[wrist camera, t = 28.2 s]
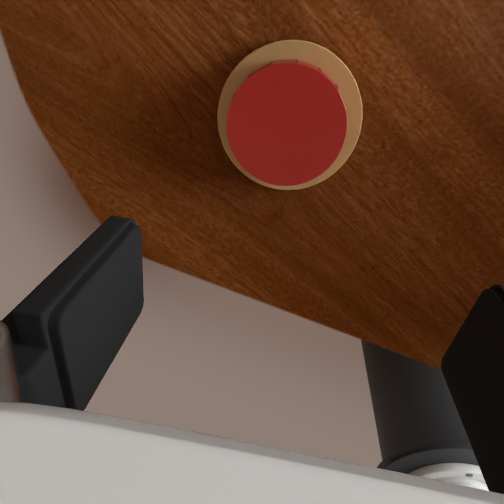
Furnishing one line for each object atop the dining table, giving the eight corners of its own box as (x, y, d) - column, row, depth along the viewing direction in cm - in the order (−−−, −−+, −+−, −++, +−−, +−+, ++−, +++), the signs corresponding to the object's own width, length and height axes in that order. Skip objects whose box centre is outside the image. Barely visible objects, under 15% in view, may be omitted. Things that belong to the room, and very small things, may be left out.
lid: (250, 40, 21) (246, 42, 19) (365, 83, 21) (370, 88, 20) (219, 155, 24) (213, 164, 23) (317, 190, 25) (318, 201, 23)
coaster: (346, 192, 25) (347, 196, 25) (219, 181, 26) (217, 184, 26) (376, 44, 21) (378, 44, 20) (218, 34, 21) (216, 35, 21)
